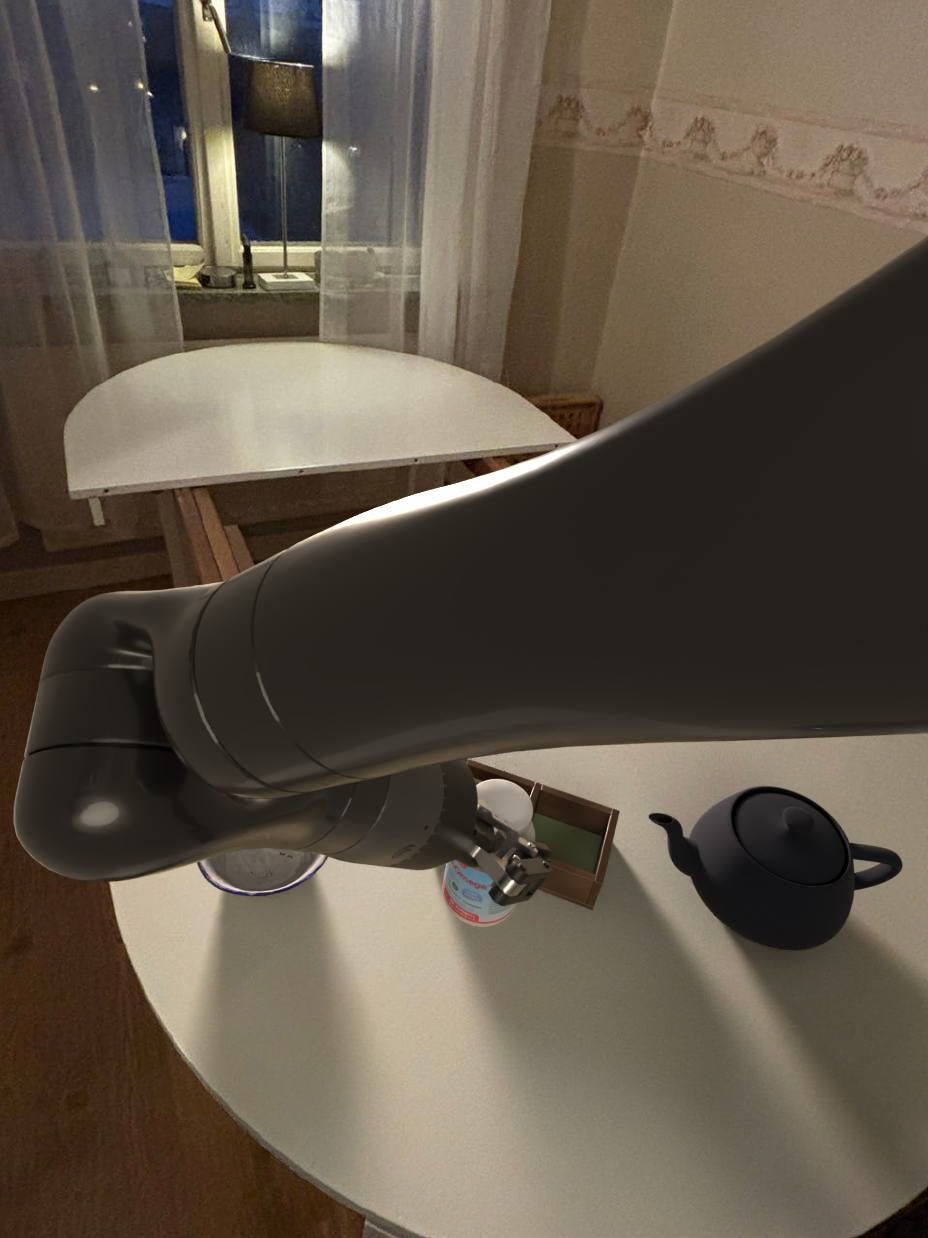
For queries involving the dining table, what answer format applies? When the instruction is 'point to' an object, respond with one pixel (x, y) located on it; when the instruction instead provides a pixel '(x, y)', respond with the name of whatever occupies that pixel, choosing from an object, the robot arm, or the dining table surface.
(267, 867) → the bowl
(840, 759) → the dining table surface
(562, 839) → the wooden compartment box
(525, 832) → the pill bottle
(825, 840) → the teapot
